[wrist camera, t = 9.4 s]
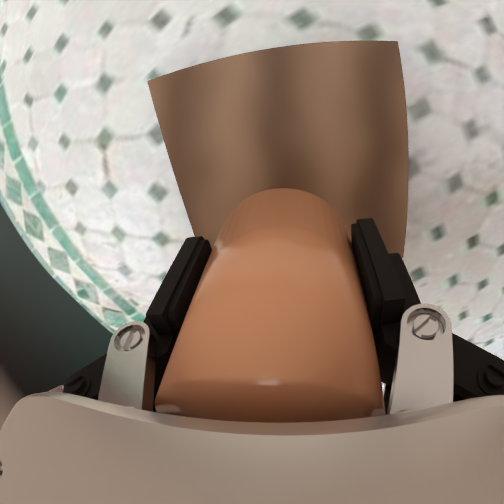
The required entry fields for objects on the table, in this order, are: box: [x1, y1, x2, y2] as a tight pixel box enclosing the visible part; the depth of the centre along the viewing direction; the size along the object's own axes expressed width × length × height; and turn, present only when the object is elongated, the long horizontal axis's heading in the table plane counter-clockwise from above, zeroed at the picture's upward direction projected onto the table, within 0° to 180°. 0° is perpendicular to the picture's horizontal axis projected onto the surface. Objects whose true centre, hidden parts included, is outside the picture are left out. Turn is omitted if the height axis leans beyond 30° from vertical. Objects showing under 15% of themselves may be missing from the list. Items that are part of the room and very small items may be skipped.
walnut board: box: [148, 41, 408, 258], centre depth 19 cm, size 16×16×2 cm
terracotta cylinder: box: [155, 188, 386, 423], centre depth 8 cm, size 5×5×7 cm
